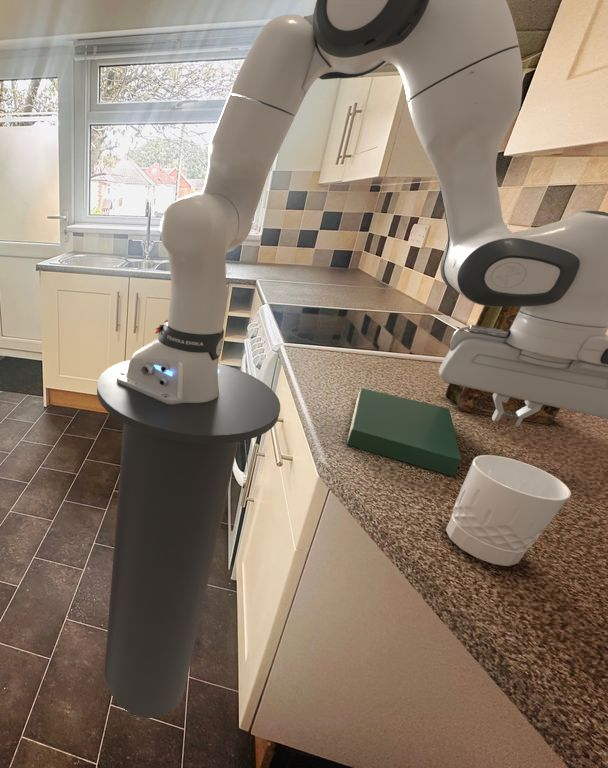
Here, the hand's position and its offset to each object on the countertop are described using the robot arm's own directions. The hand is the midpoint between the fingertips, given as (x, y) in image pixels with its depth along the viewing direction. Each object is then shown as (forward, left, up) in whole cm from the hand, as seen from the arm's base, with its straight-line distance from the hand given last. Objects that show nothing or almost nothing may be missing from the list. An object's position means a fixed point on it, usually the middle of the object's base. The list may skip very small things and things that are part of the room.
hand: (504, 422), depth 64 cm
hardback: (-12, 0, -6) cm, 14 cm away
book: (+4, +23, -7) cm, 24 cm away
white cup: (-4, -25, -7) cm, 26 cm away
